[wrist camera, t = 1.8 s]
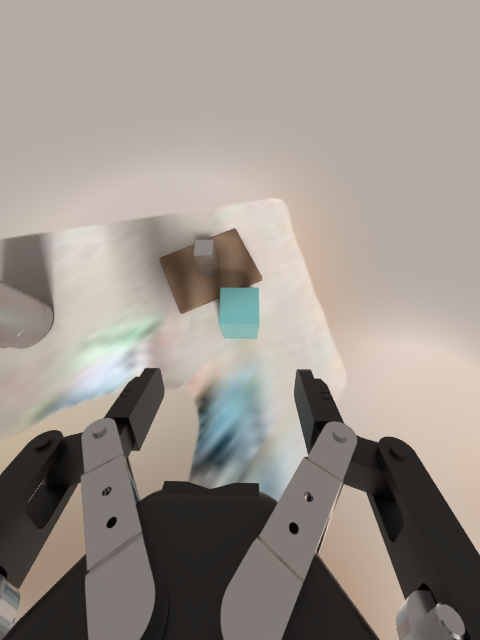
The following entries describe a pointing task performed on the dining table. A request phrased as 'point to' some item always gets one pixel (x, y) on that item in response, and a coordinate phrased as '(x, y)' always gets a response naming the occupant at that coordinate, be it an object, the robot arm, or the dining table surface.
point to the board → (203, 289)
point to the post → (206, 257)
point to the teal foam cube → (239, 312)
